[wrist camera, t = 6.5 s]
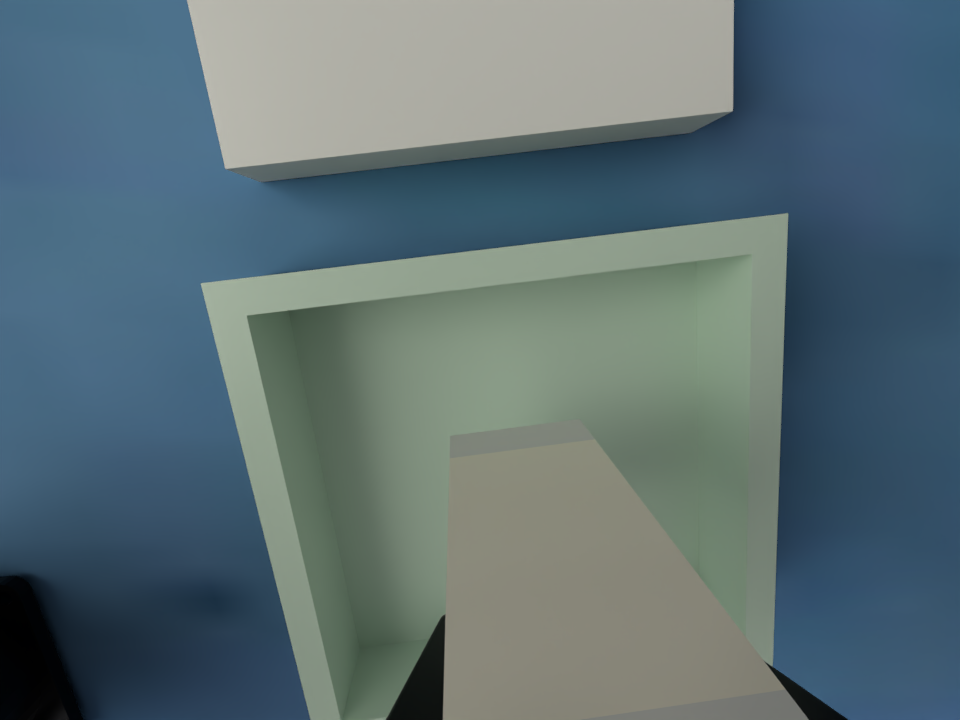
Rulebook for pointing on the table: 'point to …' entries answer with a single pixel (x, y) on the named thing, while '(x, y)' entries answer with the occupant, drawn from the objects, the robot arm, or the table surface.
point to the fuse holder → (453, 77)
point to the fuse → (580, 596)
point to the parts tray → (500, 419)
